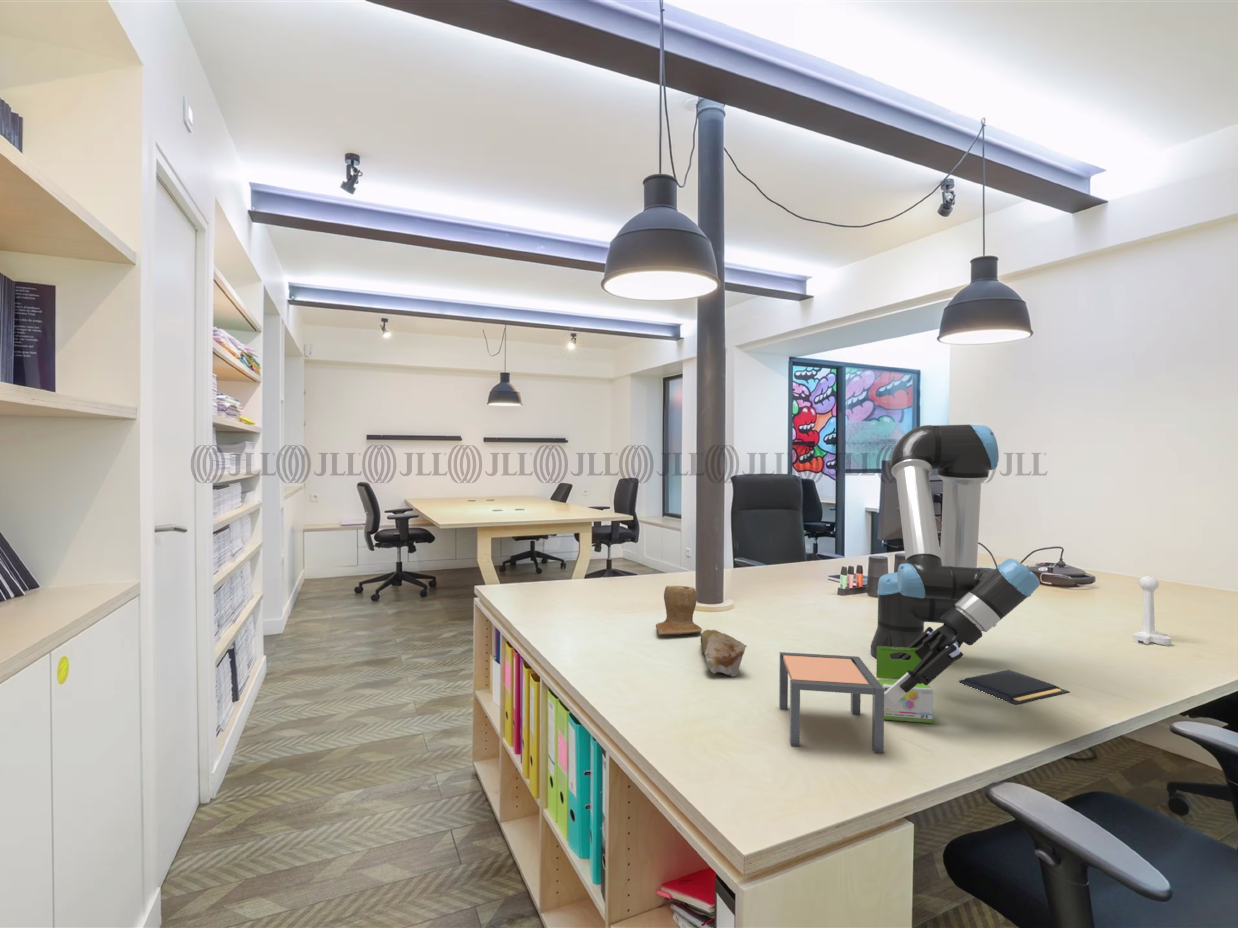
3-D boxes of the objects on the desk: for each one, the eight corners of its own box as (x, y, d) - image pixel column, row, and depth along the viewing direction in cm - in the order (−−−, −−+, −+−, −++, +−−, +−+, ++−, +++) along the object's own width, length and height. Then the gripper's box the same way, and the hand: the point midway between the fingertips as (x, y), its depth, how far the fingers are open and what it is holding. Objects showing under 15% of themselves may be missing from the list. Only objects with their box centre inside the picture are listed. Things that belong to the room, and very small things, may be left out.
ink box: (881, 719, 120) (881, 653, 120) (874, 708, 125) (874, 645, 125) (934, 723, 118) (934, 656, 118) (924, 712, 124) (925, 647, 123)
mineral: (690, 616, 169) (722, 621, 169) (685, 647, 168) (718, 652, 169) (712, 637, 142) (750, 643, 143) (706, 674, 142) (745, 680, 142)
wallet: (1009, 666, 149) (1073, 687, 135) (1009, 673, 149) (1073, 695, 135) (953, 675, 142) (1014, 699, 128) (953, 683, 142) (1014, 708, 128)
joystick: (1149, 636, 180) (1150, 573, 180) (1180, 643, 173) (1181, 578, 173) (1128, 640, 176) (1129, 575, 176) (1159, 648, 169) (1160, 580, 169)
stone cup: (692, 625, 188) (692, 580, 188) (705, 636, 177) (706, 588, 177) (648, 628, 185) (648, 582, 185) (659, 639, 173) (659, 590, 173)
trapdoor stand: (858, 711, 124) (858, 656, 124) (883, 753, 106) (884, 688, 106) (779, 705, 127) (779, 651, 127) (790, 745, 109) (791, 682, 109)
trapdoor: (850, 663, 122) (850, 658, 122) (868, 689, 109) (868, 683, 109) (783, 659, 125) (783, 655, 125) (792, 684, 111) (792, 679, 111)
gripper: (1004, 647, 110) (913, 725, 113) (962, 620, 128) (884, 688, 131) (975, 618, 111) (884, 696, 114) (937, 596, 129) (860, 664, 132)
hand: (884, 692), depth 122 cm, fingers closed on ink box, 5 cm apart
